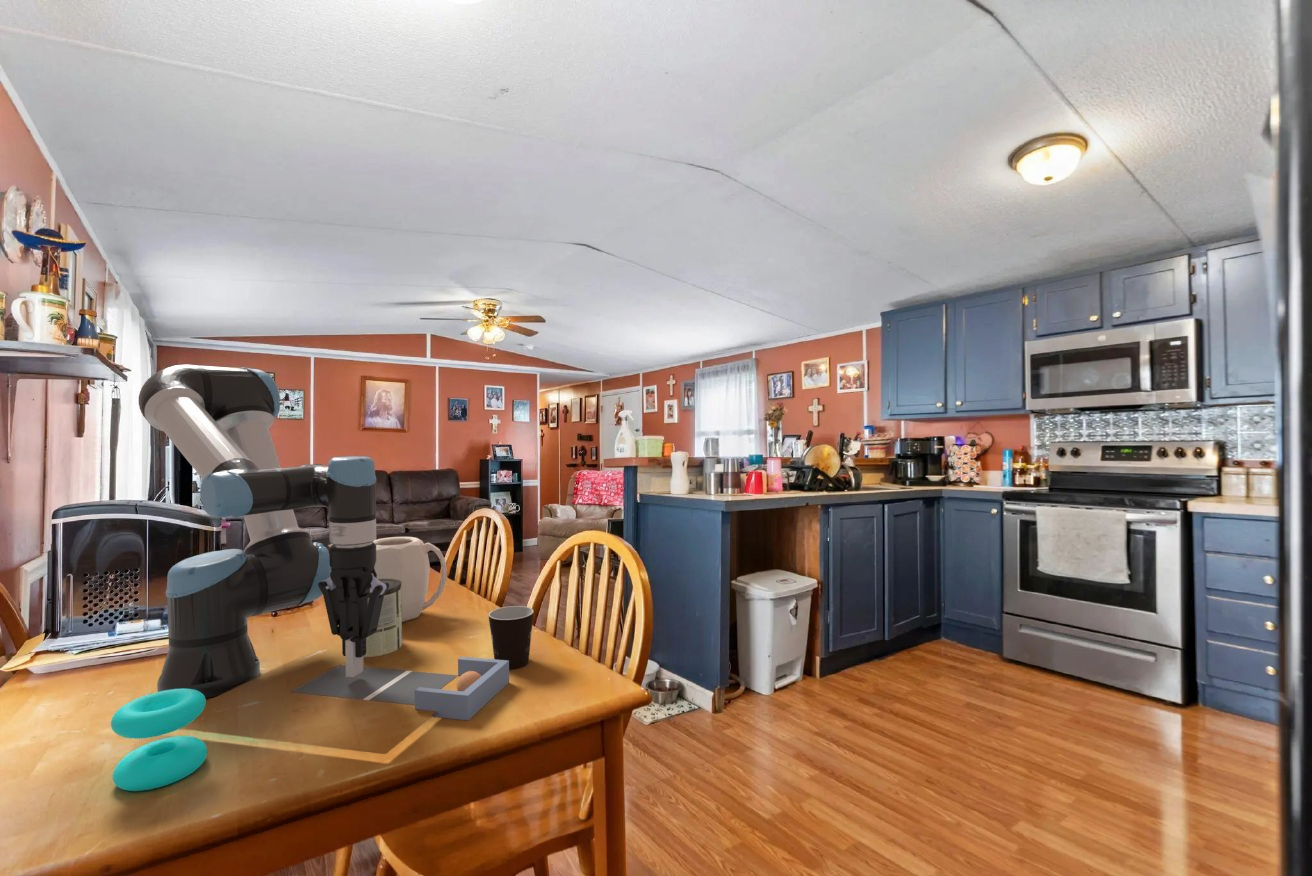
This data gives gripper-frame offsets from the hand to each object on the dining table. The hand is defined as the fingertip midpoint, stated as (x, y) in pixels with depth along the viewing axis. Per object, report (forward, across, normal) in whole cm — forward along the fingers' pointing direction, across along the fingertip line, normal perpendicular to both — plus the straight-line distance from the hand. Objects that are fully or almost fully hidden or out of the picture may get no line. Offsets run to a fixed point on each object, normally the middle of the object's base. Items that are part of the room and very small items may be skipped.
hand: (354, 673), depth 110 cm
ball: (-2, +22, 0) cm, 22 cm away
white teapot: (+3, -18, +35) cm, 40 cm away
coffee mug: (+2, +23, +17) cm, 29 cm away
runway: (+2, +5, 0) cm, 5 cm away
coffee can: (+3, -7, +15) cm, 16 cm away
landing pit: (+2, +21, 0) cm, 21 cm away
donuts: (+2, -7, -29) cm, 30 cm away
